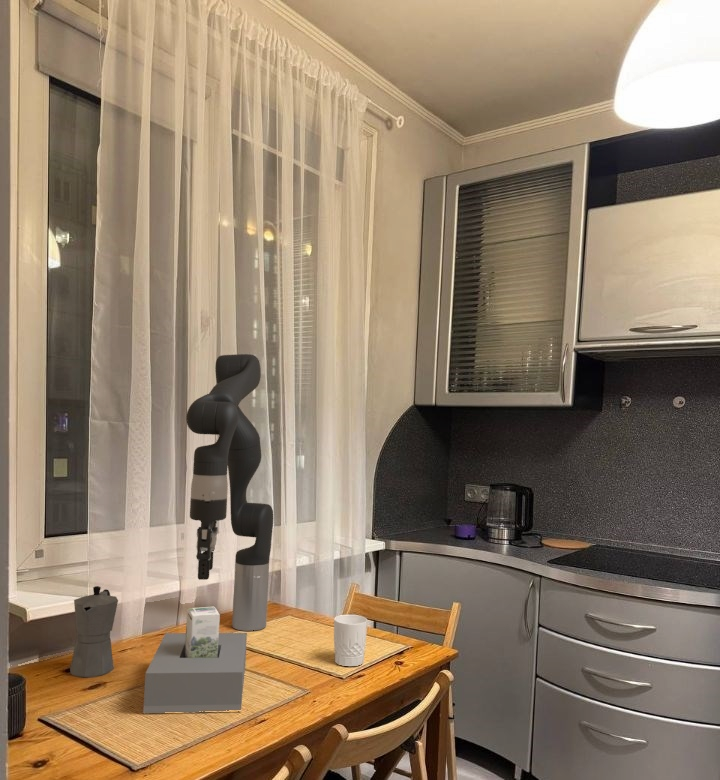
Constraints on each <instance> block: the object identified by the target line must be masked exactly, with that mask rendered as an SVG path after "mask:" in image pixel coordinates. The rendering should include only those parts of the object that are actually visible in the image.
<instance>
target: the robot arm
mask: <svg viewBox="0 0 720 780" xmlns="http://www.w3.org/2000/svg"><path fill="white" fill-rule="evenodd" d="M214 368H215V369H214V371H215V381H216V384H215V385H213V387H212V389H210V392H209V393H207V394H204V395H203V396H200V397H199V398H196V400H194V401H192V403H191V404H190V406H189V407H188V410H187V412H186V418H185V419H186V426H187V427H188V428H189V430H190V431H191V432H192V433H194V434H198V435H211V436H212V435H213V436H217V435H218V439H217V440H216V441H215V442H214V443H212V444H208V445H207V444H206V445H202V446H198V447H196V448H195V450H194V453H193V467H192V474H193V475H192V478H191V479H192V480H191V484H190V486H191V487H190V504H189V505H190V506H189V518H190V520H192V521H200V526H198V528H197V530H196V539H197V540H196V550H197V551H196V557H195V558H196V559H197V562H198V564H197V565H198V566H197V579H198V580H204V581H205V580H209V578H210V570H212V569H213V567H214V566H213V565H214V552H215V550H216V548H215V546H216V545H217V541H218V540H217V535H218V532H219V531H218V526H217V522H218V521H223V520H225V519H226V518H227V513H228V511H227V509H228V492H229V495H230V497H229V501H230V502H229V503H230V525H231V529H232V532H233V533H234V534H235V535H236V536H237V537H239V536H240V537H246V538H247V537H248V538H255V540H254V541H255V542H254V544H253V545H251V546H249V547H246V548H242V549H239V550H237V551H236V553H235V559H234V560H235V561H234V563H235V564H234V580H233V582H234V583H233V584H234V585H233V598H232V600H233V601H232V602H233V603H232V621H231V622H232V623H231V627H232V628H233V629H235V630H238V631H244V632H245V631H246V632H252V631H253V630H254V631H259V630H263V629H265V628H266V627H267V621H268V620H267V618H268V617H267V616H268V615H267V613H268V600H269V597H268V596H269V579H270V578H269V577H270V575H269V573H270V572H269V571H270V557H271V556H270V555H271V549H272V540H273V539H272V538H273V537H272V536H273V529H274V528H273V527H274V511H273V507H272V506H271V504H267V503H259V502H258V503H257V502H248V501H247V489H248V487H249V484H250V482H251V480H252V479H253V477H254V475H255V473H256V472H257V470H258V468H259V466H260V464H261V461H262V448H261V445H262V444H261V437H260V434H259V432H258V430H257V428H256V427H255V426H254V424H253V423H252V421H250V420H249V418H248V417H247V416H246V415H245V413H244V412H243V411H242V409H241V407H240V406H239V405H240V404H241V402H242V400H244V399H245V398H246V397H247V396H248V395H249V394H251V393H252V392H253V391H255V390H256V388H258V386H259V384H260V382H261V378H262V377H261V375H262V374H261V372H262V371H261V364H260V360H259V358H258V357H257V356H256V355H254V354H250V353H249V354H248V353H247V354H246V353H245V354H242V353H240V354H239V353H238V354H223V355H218V357H217V358H216V361H215V367H214ZM228 479H229V482H228ZM228 483H229V484H228ZM228 486H229V489H228ZM228 490H229V491H228ZM254 631H253V632H254Z"/></svg>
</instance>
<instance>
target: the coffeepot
mask: <svg viewBox="0 0 720 780" xmlns="http://www.w3.org/2000/svg"><path fill="white" fill-rule="evenodd" d="M92 588H93V589H92V590H93V594H89V595H85V596H81V597H78V598H76V599H73V602H74V614H75V616H74V617H75V627H76V634H77V639H76V641H75V645H74V649H73V654H72V657H71V658H72V659H71V662H70V667H69V670H70V671H69V672H70V674H71V675H72V676H74V677H77V678H96V677H101V676H104V675H107V674H109V673H110V672H112V671H113V670H114V668H115V667H114V658H113V649H112V640H111V631H113V626H114V621H115V617H116V613H117V608H118V603H119V600H118V598H117V596H113V595H111V593H110V590H109V589H107V588H106V589H103V590H102V591H101V589H102V586H99V585H96V586H93V587H92Z"/></svg>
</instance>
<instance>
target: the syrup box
mask: <svg viewBox="0 0 720 780" xmlns="http://www.w3.org/2000/svg"><path fill="white" fill-rule="evenodd" d="M220 616H221V614H220V613H219V611H218V609H217V608H216V607H215V606H204V607H203V606H201V607H200V606H199V607H189V608H187V611H186V624H185V625H186V626H185V627H186V629H185V633H186V640H185V657H184V658H217V652H218V636H219V633H220V621H221V620H220V619H221V617H220Z"/></svg>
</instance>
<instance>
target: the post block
mask: <svg viewBox="0 0 720 780" xmlns="http://www.w3.org/2000/svg"><path fill="white" fill-rule="evenodd" d="M247 635H248V633H247V632H219V636H218V652H217V658H184V657H185V640H186V632H165V633H164V635H163V637H162V640H161V641H160V643H159V645H158V647H157V649H156V651H155V654H154V655H153V657H152V659H151V661H150V664H149V666H148V667H147V669H146V671H145V673H144V674H145V676H144V694H143V711H142V714H143V713H165V712H199V711H201V712H202V711H203V712H205V711H226V710H227V711H229V710H241V711H242V705H241V704H243V695H242V694H244V685H243V684H245V675H244V674H245V673H246V663H247V662H246V659H247V657H246V656H247V641H248V639H247V638H248V636H247Z"/></svg>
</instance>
